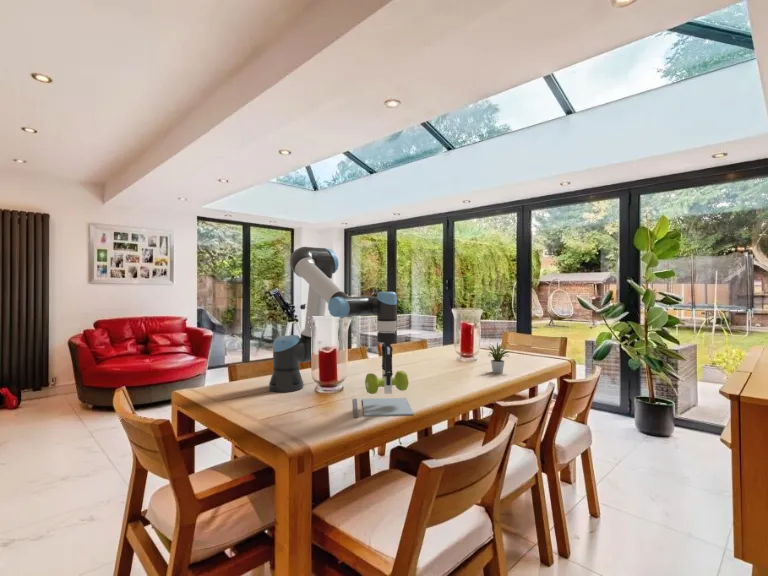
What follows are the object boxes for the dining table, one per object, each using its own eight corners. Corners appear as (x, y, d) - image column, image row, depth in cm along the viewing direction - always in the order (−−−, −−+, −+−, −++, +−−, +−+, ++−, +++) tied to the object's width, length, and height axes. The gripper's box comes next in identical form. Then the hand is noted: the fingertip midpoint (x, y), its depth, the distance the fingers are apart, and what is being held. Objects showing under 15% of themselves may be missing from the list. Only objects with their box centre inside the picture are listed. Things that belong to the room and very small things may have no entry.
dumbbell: (370, 396, 146) (370, 376, 146) (363, 390, 153) (363, 372, 153) (410, 391, 152) (410, 373, 152) (402, 386, 159) (402, 369, 159)
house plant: (494, 376, 205) (494, 345, 205) (477, 370, 218) (478, 341, 217) (515, 374, 211) (516, 343, 210) (498, 368, 223) (498, 340, 223)
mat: (364, 416, 142) (364, 414, 142) (362, 400, 162) (362, 398, 162) (413, 415, 144) (413, 413, 144) (405, 399, 163) (405, 397, 163)
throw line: (353, 417, 141) (353, 416, 141) (353, 399, 163) (353, 398, 163) (358, 417, 141) (358, 416, 141) (357, 399, 163) (357, 398, 163)
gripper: (400, 335, 142) (400, 397, 142) (393, 328, 164) (393, 382, 164) (379, 335, 141) (379, 398, 141) (375, 328, 163) (375, 383, 163)
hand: (386, 389), depth 153 cm, fingers closed on dumbbell, 9 cm apart
